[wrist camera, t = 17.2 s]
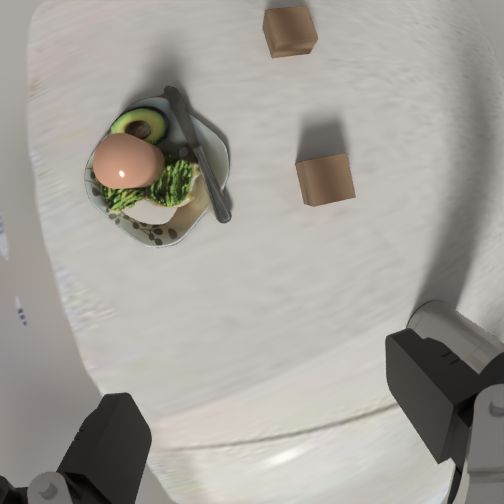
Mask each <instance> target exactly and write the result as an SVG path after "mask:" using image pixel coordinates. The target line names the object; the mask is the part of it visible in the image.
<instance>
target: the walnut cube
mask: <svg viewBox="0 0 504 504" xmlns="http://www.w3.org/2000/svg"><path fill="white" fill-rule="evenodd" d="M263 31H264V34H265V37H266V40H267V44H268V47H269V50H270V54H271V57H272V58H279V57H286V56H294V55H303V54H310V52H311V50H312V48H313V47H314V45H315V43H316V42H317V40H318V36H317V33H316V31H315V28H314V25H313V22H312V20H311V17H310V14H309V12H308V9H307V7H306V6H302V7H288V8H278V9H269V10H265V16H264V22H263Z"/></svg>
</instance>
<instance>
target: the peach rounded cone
mask: <svg viewBox="0 0 504 504" xmlns="http://www.w3.org/2000/svg"><path fill="white" fill-rule="evenodd" d="M164 168H165V159H164V156H163V153H162V152H161V150H160V149H159V148H158V147H156V146H155V145H153V144H150V143H148V142H146V141H144V140H141V139H139V138H137V137H134V136H132V135H129V134H127V133H115V134H112V135H109V136H108V137H106V138H105V139H103V140H102V141H101V143H100V144H99V145H98V147H97V148H96V150H95V153H94V157H93V170H94V173H95V176H96V177H97V179H98V180H99V182H100V183H102V184H103V185H104V186H106V187H108V188H112V189H120V188H136V187H148V186H151V185H153V184H154V183H156V182H157V181H158V180H159V179H160V178H161V176H162V174H163V172H164Z"/></svg>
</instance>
